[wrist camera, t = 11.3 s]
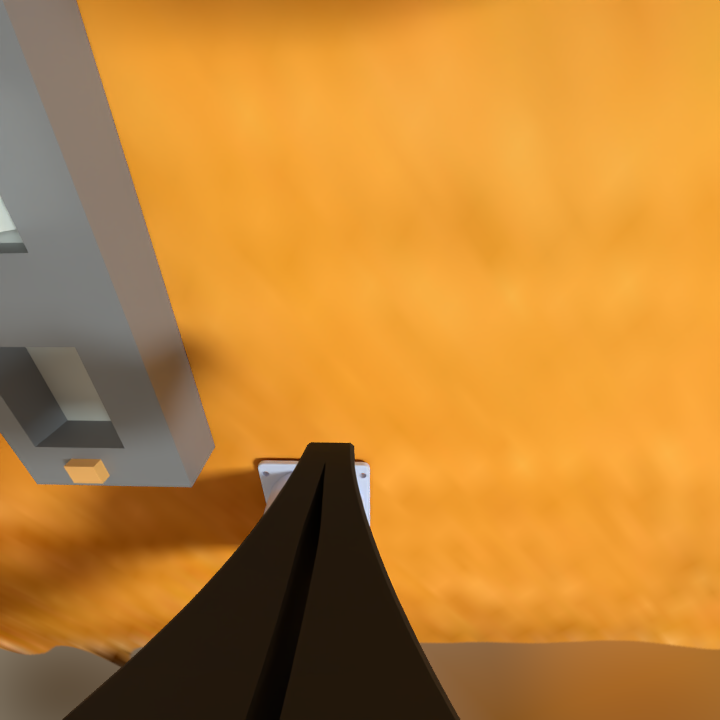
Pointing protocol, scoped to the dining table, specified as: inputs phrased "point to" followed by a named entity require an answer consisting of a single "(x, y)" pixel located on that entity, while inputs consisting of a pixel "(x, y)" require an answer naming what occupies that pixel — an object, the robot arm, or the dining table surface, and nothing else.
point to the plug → (5, 218)
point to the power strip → (82, 279)
